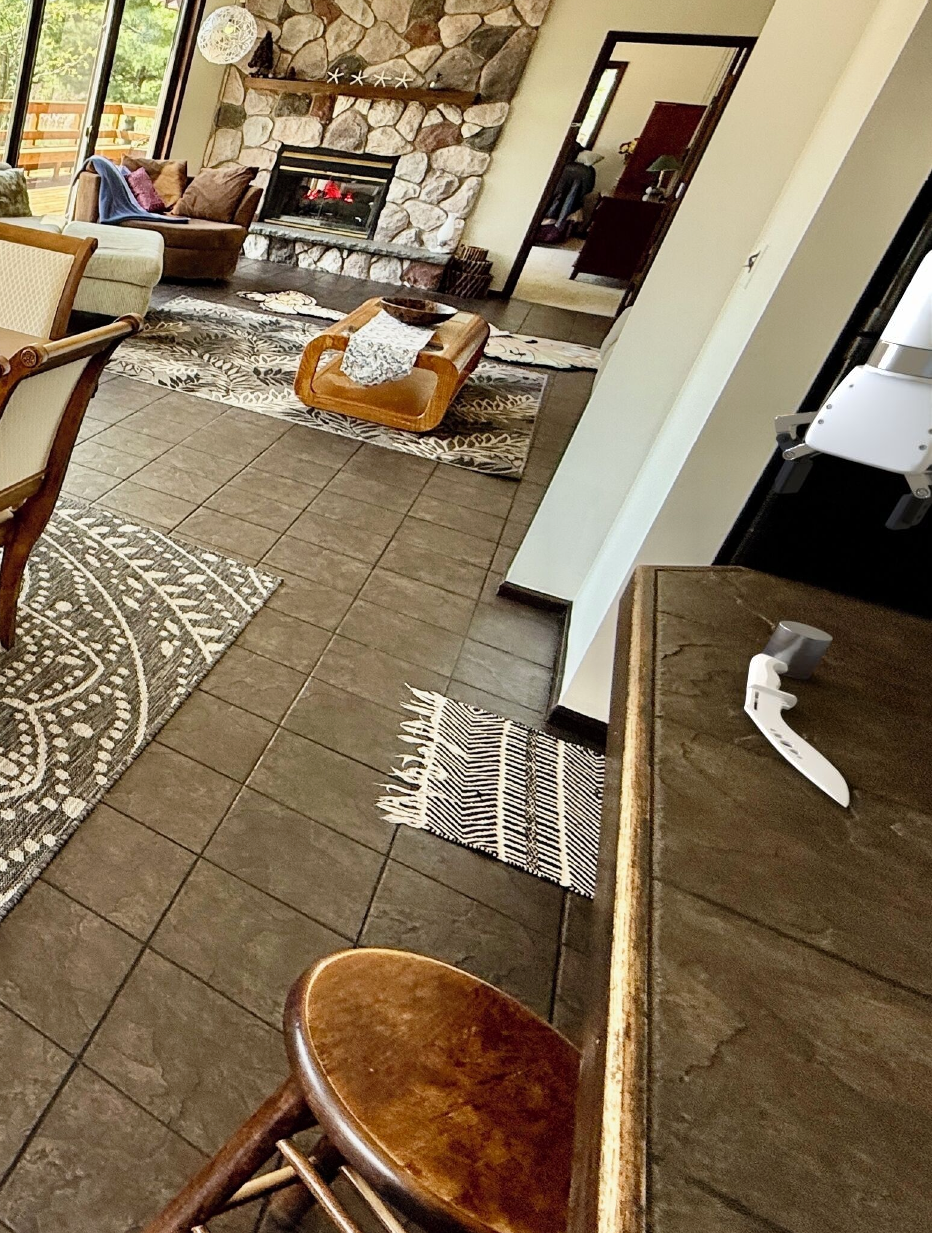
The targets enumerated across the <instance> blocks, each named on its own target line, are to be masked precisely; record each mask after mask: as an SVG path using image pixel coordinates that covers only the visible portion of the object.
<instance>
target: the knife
mask: <svg viewBox="0 0 932 1233" xmlns="http://www.w3.org/2000/svg"><path fill="white" fill-rule="evenodd" d="M786 671H788V666H787V664H785V663H783V662H781V661H779V660H777V659H775V658H773V657H771V656H768V655H765V654H762V653H758V654H757V655H754V656H753V657H752V658H751V661H750V663H749V670H748V677H747V684H746V690H745V691H746V696H745V704H744V711H745V712H746V713H747V715H748V716H750V719H752V721H753V722H754V723H755V725H756V726H757V727H758V729H759V730H760V731H761V732H762V734H763V735H764V736H765V738H767V739H768V741H769V742H770V743H771V745H773V747H774V748H775V749H776V750H777V751H778V752H779V753H780V754H781V755H782V756H783V757H784V758H785V759H786V760H787V761H788V762H789V763H790V764H791V765H792V766H793V767H795V768H796V769H797V770H798V771H799V772H800V773H802V774H803V776H805V777H806V778H807V779H809V780H810V781H811V782H812V783H813V784H815V785H816V786H817V787H818V788H819V789H820V790H822V791H823V792H825V793H826V794H827V795H828V796H829V797H830V798H832V799H834V800H835V801H836V802H837V803H839V804H840V805H841V806H843V807H844V808H847V807H848V806H849V803H850V792H849V788H848V785H847V783H846V780H845V778H844V776H842V774H841V773H840V772H839V770H838V769H837V768H836V767H835V766H833V764H832V763H831V762H830V761H829V760H828V759H826V757H824V756H823V755H822V754H821V753H820V752H819V751H818V750H817V749H816V748H814V747H813V746H812V745H811V744H810V743H808V742H807V741H806V740H805V739H803V738H802V737H801V736H799V735H798V734H797V733H796V732H795V731H794V730H793V729H791V727H789V725H788V724H787V723H786V722H785V721H784V719H783V717H782V714H781V712H782V710H783V709H784V710H790V709H791V708H793V707H795V706H796V704H797V703H798V698H797V696H796V695H795V694H791V693H788V692H785V691H782V690H780V687H781V685H782V683H781V679H780V676H779V675H781V674H782V673H785V672H786ZM755 703H756V709H755Z"/></svg>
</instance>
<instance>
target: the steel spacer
mask: <svg viewBox="0 0 932 1233" xmlns="http://www.w3.org/2000/svg"><path fill="white" fill-rule="evenodd" d="M832 641H833V636H832V635H830V634H829V633H828V632H826V631H824V630H821V629H819V628H816V627H814V626H811V625H808V624H804V623H801V622H797V621H791V620H782V621H780V622H779V623H778V625H777V626H776V628H775V629H774V631H773V634H772V635H771V637H770V638H769V640H768V642H767V644H766V646H765V648H764V649H763V651H762V653H761V654H765V655H768V656H771V657H773V658H775V659H777V660H779V661H781V662H783V663H785V664H787V666H788V671H786V672H785V673H782V674H780V675H781V676H784V677H788V678H792V679H796V680H809V679H810V678H811V676H812V675H813V673H814V671H815V670H816V668H817V666H818V664H819V663H820V661H821V660H822V658H823V656H824V654H825V652H827V650H828V648H829V646H830V645H831V643H832Z"/></svg>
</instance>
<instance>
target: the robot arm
mask: <svg viewBox="0 0 932 1233" xmlns="http://www.w3.org/2000/svg"><path fill="white" fill-rule="evenodd" d="M807 424H811V425H810V427H809V428H808V431H807V433H806V435H805V439H804V441H805V442H804V443H803V442H802V440H801V439H800V437H799V435H798V434H797V427H798V426H800V425H807ZM774 426H775V427H774V428H775V433H776V436H775V440H776V442H777V444H778V446H779V447H780V449H781V451H782V458H783V459H785V460H784V463H783V465H782V466H781V468H780V470H779V471H778V473H777V476H776V477H775V480H774V483H775V484H776V485H775V488H774V490H773V492H774V493H776V494H779V495H781V494H783V495H785V494H795V493H798V492H799V491H800V489H801V487H802V485H803V483H804V482H805V480H806V478H807V476H808V474H809V473H810V471H811V469H812V467H813V465H814V463H813V462H814V461H813V460H811V458H813V457H815V456H818V455H820V454H823V453H824V454H827V455H831V456H833V457H838V458H841V459H845V460H848V461H851V462H856V463H859V464H863V465H867V466H870V467H874V468H877V469H881V470H885V471H888V472H892V473H896V474H900V475H903V476H904V478H905V479H906V481H907V483H908V485H909V488H910V490H911V492H910V493H909V494H903V495H902V496H901V497H900V499H899V501H898V503H897V504H896V506H895V507H894V509H893V511H892V513H891V514H890V516H889V518H888V519H887V521H886V523H885V524H884V526H885V527H886V528H887V529H889V530H893V531H896V530H897V531H898V530H906V529H909V528H911V527H912V526H917V525H918V524H919V523H920V522H921V521H922V519H923V518H924V516H925V515H926V514H927V512H928V510H929V508H930V507H931V505H932V249H931V250H930V251H928V253H927V254H926V255H925V257H923V259H922V261H921V263H920V265H919V266H918V268H917V270H916V272H915V273H914V275H913V277H912V279H911V282H910V283H909V284H908V286H907V287H906V290H905V292H904V294H903V296H902V298H901V299H900V301H899V303H898V304H897V307H895V310H894V312H893V313H892V316H891V317H890V320H889V321H888V323H887V325H886V327H885V328H884V330H883V332H882V334H881V336H880V338H879V339H878V341H877V343H876V345H875V346H874V348H873V350H872V352H871V353H870V355H869V357H868V359H867V361H866V363H865V364H863V365H856V366H854V368H853V369H852V370H851V371H850V372H849V373H848V375H846V377H845V378H844V379H843V380H842V381H841V382H840V384H839V385H838V386H837V387H836V389H835V390H834V391H832V393H831V395H830V396H829V398H827V400H826V401H825V403H824V404H823V406H822V407H821V409H820V410H819V411H818V410H817V411H809V412H803V413H802V412H800V413H791V414H781V415H777V416H775V418H774Z"/></svg>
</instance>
